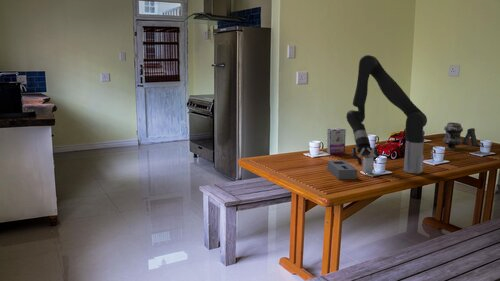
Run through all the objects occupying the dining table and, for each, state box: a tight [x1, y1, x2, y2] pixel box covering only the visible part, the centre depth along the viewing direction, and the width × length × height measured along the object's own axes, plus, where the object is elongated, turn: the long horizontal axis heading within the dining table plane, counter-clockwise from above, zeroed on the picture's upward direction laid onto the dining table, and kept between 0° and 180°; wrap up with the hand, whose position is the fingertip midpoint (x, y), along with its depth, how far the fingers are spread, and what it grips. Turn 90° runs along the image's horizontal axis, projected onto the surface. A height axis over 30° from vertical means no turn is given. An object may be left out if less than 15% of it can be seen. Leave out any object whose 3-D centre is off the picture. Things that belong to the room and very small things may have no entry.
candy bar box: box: [326, 127, 347, 155], centre depth 278 cm, size 11×5×16 cm, turn 105°
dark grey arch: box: [461, 127, 479, 147], centre depth 305 cm, size 9×6×12 cm, turn 40°
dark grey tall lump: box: [442, 121, 464, 151], centre depth 291 cm, size 12×12×18 cm
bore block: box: [326, 160, 358, 180], centre depth 229 cm, size 10×20×5 cm, turn 7°
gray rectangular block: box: [362, 155, 374, 175], centre depth 231 cm, size 4×4×9 cm
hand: (368, 164), depth 230 cm, fingers open, 8 cm apart
